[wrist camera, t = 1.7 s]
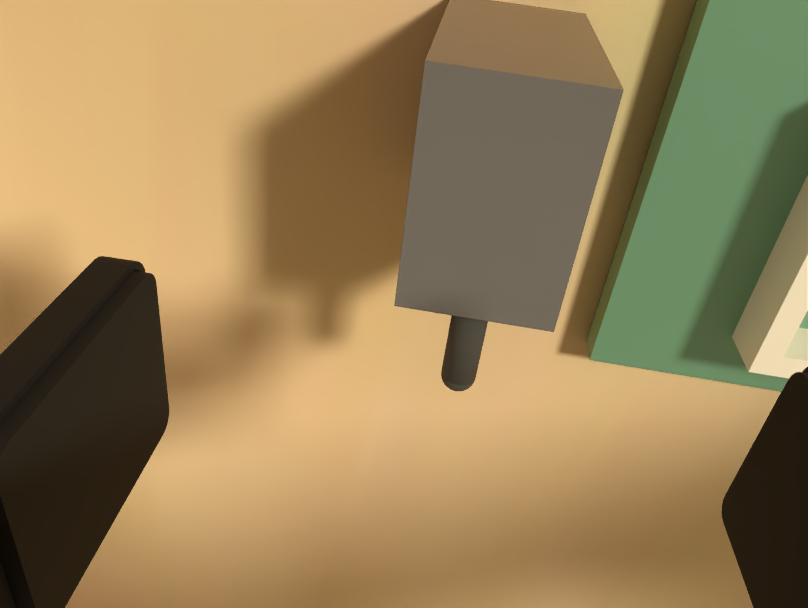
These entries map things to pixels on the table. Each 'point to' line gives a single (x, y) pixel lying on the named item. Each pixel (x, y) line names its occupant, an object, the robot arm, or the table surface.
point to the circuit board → (720, 209)
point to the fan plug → (502, 170)
